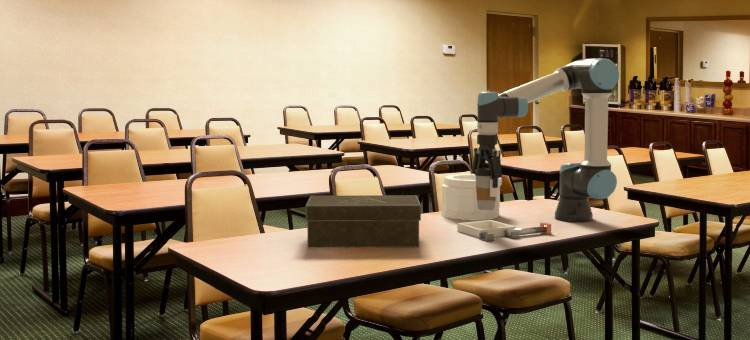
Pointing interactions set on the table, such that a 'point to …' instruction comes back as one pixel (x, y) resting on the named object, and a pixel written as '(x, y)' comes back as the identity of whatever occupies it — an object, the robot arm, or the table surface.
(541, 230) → the lock bar
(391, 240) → the box
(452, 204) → the container
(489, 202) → the coffee cup
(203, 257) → the table surface
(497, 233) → the square tray
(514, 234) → the bar guides
